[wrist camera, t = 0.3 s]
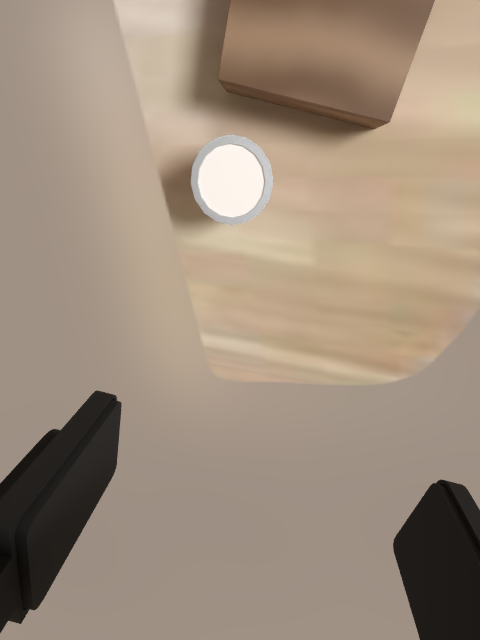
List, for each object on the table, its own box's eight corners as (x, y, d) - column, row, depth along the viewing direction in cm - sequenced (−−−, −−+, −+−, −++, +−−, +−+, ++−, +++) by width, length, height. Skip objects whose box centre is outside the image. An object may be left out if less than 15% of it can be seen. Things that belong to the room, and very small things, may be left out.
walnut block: (266, -128, 24) (262, -196, 20) (449, -85, 24) (487, -143, 20) (227, 92, 30) (217, 79, 26) (373, 129, 30) (389, 122, 26)
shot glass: (209, 215, 35) (193, 225, 29) (205, 142, 32) (186, 135, 26) (274, 215, 34) (272, 225, 28) (276, 140, 31) (274, 132, 25)
